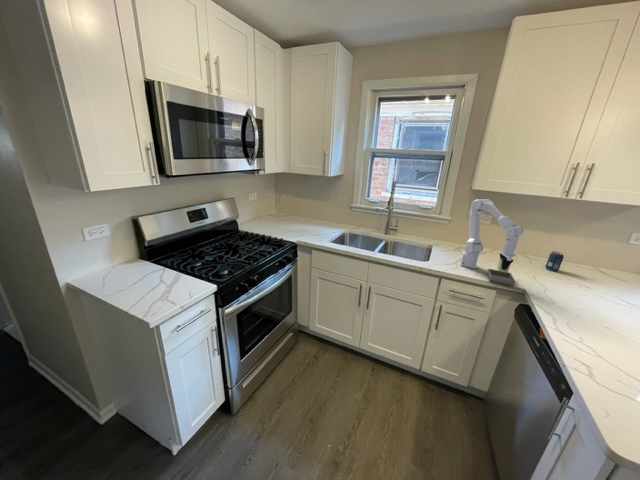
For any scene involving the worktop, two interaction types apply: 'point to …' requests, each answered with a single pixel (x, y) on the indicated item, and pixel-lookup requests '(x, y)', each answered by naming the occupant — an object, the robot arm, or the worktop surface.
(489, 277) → the bin
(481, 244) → the robot arm
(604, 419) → the worktop surface
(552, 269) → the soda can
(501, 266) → the light green block
